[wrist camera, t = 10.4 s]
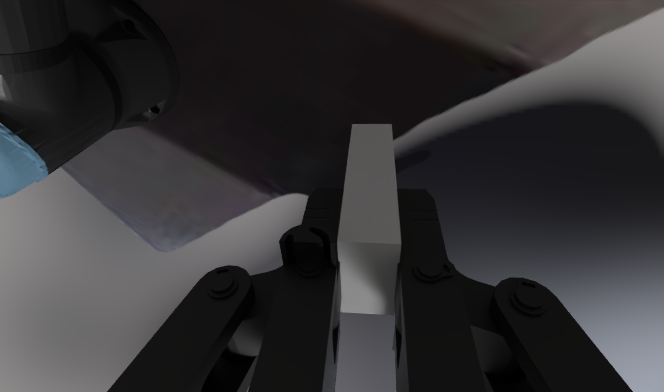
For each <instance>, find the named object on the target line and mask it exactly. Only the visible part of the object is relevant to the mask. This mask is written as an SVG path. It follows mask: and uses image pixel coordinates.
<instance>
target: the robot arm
mask: <svg viewBox="0 0 664 392" xmlns="http://www.w3.org/2000/svg"><path fill="white" fill-rule="evenodd" d="M178 88H179V74H178V68H177V64H176V60H175V57H174V55H173V52H172V50H171V48H170V46H169V44H168V42H167V40H166V39H165V37H164V35H163V34H162V33H161V31H160V30H159V29H158V27H157V26H156V25H155V24H154V23H153V22H152V21H151V20H150V18H149V17H147V16H146V15H145V14H144V13H143V12H142V11H141V10H139V9H138V8H137V7H135V6H134V5H132V4H131V3H129V2H127V1H126V0H0V198H5V197H8V196H11V195H13V194H15V193H17V192H18V191H20V190H22V189H23V188H25V187H27V186H29V185H31V184H32V183H34V182H39V181H41V180H43V179H44V178H46V177H47V176H48V175H49V174H50V173H52V172H53V171H55V170H56V169H58V168H59V167H60V166H62V165H63V164H65V163H66V162H68V161H69V160H70V159H72V158H73V157H75V156H76V155H78V154H79V153H80V152H82V151H83V150H85V149H86V148H87V147H89V146H90V145H92V144H93V143H95V142H96V141H97V140H99V139H100V138H102V137H103V136H105V135H106V134H107V133H109V132H110V131H112V130H118V129H124V128H130V127H135V126H141V125H145V124H148V123H150V122H152V121H154V120H156V119H157V118H159V117H160V116H161V115H163V114H164V113H166V112H167V111H168V110H169V109H170V108H171V106H172V105H173V103H174V101H175V99H176V97H177V93H178ZM279 243H280V249H281V254H282V260H283V266H281V267H279V268H277V269H275V270H272V271H269V272H265V273H261V274H256V275H252V276H250V275H249V274H248V272H247V271H246V270H245V269H243V268H241V267H238V266H229V265H228V266H223V267H219V268H216V269H214V270H212V271H210V272H208V273H207V274H206V275H204V276H203V277H202V278H201V279H200V280H199V281H198V282H197V284H196V285H195V286H194V287H193V289H192V290H191V291H190V292H189V293H188V295H187V296H186V297H185V298H184V299H183V301H182V302H181V303H180V304H179V306H178V307H177V308H176V309H175V310H174V311H173V313H172V314H171V315H170V316H169V318H168V319H167V320H166V321H165V322H164V324H163V325H162V326H161V327H160V328H159V330H158V331H157V332H156V333H155V334H154V336H153V337H152V338H151V340H150V341H149V342H148V343H147V344H146V345H145V347H144V348H143V349H142V350H141V351H140V353H139V354H138V355H137V356H136V358H135V359H134V360H133V361H132V362H131V364H130V365H129V366H128V367H127V368H126V370H125V371H124V372H123V373H122V374H121V376H120V377H119V378H118V379H117V380H116V382H115V383H114V384H113V385H112V387H111V388H110V389H109V390H108V391H107V392H246V391H247V389H248V387H249V385H250V387H249V390H248V392H335V382H336V372H337V360H338V349H339V338H340V310H341V312H350V313H366V314H384V315H394V314H395V331H394V341H393V350H395V364H396V390H397V392H633V391H632V390H631V389H630V388H629V386H628V385H627V384H626V383H625V381H624V380H623V379H622V378H621V376H620V375H619V374H618V373H617V372H616V370H615V369H614V368H613V366H612V365H611V364H610V363H609V362H608V360H607V359H606V358H605V357H604V355H603V354H602V353H601V352H600V351H599V349H598V348H597V347H596V345H595V344H594V343H593V342H592V340H591V339H590V338H589V337H588V336H587V334H586V333H585V332H584V330H583V329H582V328H581V327H580V325H579V324H578V323H577V322H576V321H575V319H574V318H573V317H572V316H571V314H570V313H569V312H568V311H567V310H566V308H565V307H564V306H563V304H562V303H561V302H560V301H559V300H558V298H557V297H556V296H555V295H554V294H553V293H552V292H551V291H550V290H548V289H547V288H546V287H544V286H542V285H541V284H539V283H537V282H535V281H532V280H529V279H525V278H508V279H505V280H502V281H501V282H500V283H499V284H498V285H497V286H496V287H494V286H491V285H488V284H485V283H481V282H478V281H475V280H472V279H470V278H467V277H466V276H464V275H462V274H461V273H459V272H458V271H457V270H456V269H455V267H454V265H453V264H452V263H451V262H450V261H449V260H448V257H447V254H446V249H445V245H444V241H443V237H442V232H441V227H440V223H439V218H438V214H437V209H436V205H435V200H434V198H433V197H432V196H431V195H430V194H429V193H428V192H427V190H426V189H397V186H396V173H395V161H394V149H393V137H392V125H391V124H352V131H351V139H350V146H349V154H348V162H347V170H346V177H345V185H344V189H336V188H317V189H316V190H315V191H314V192H313V193H312V194H311V195H310V196H309V197H308V201H307V205H306V210H305V212H304V216H303V220H302V224H301V225H298V226H296V227H293V228H291V229H289V230H288V231H287V232H286V233H284V234H283V236H282V237H281V239H280V241H279Z"/></svg>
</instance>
